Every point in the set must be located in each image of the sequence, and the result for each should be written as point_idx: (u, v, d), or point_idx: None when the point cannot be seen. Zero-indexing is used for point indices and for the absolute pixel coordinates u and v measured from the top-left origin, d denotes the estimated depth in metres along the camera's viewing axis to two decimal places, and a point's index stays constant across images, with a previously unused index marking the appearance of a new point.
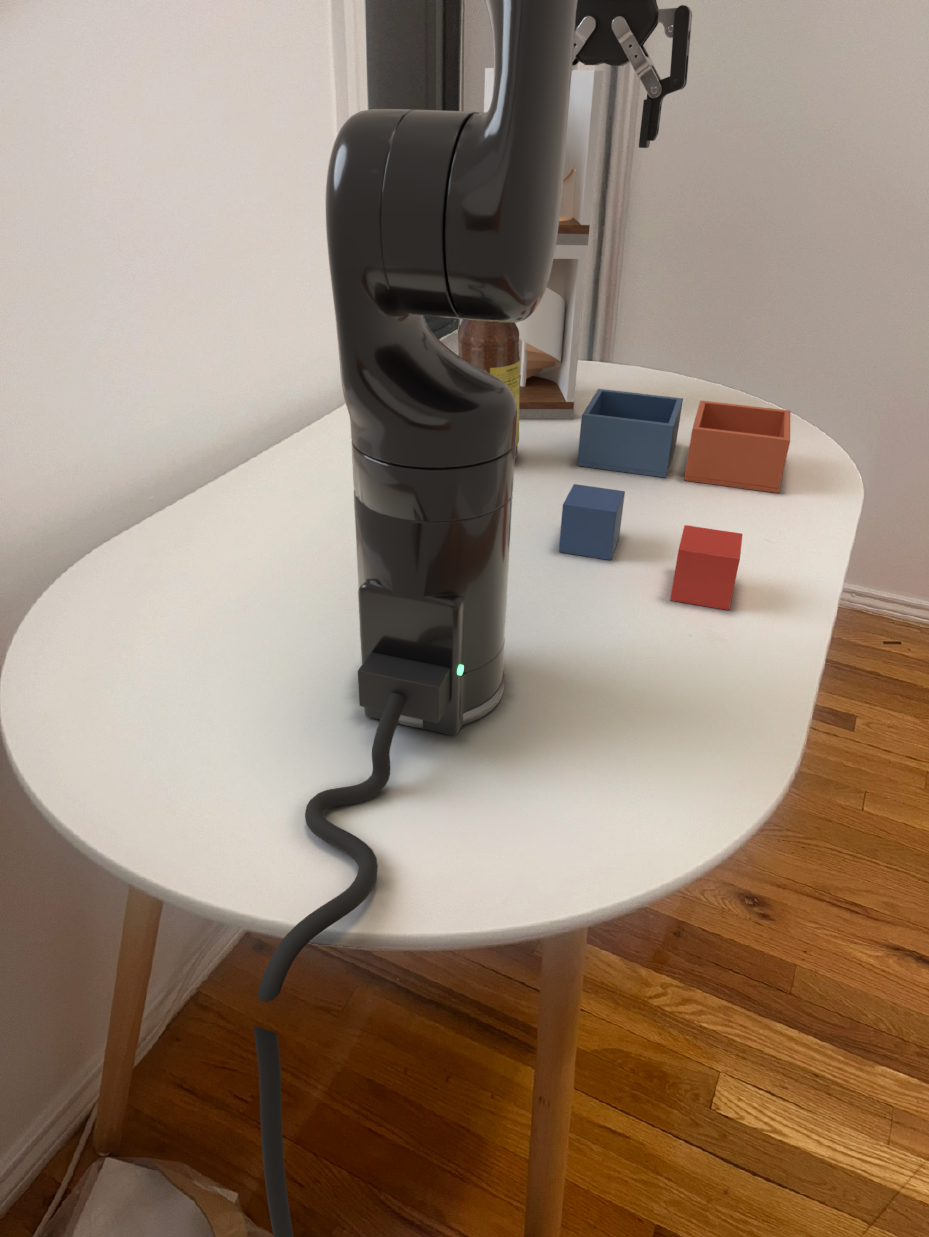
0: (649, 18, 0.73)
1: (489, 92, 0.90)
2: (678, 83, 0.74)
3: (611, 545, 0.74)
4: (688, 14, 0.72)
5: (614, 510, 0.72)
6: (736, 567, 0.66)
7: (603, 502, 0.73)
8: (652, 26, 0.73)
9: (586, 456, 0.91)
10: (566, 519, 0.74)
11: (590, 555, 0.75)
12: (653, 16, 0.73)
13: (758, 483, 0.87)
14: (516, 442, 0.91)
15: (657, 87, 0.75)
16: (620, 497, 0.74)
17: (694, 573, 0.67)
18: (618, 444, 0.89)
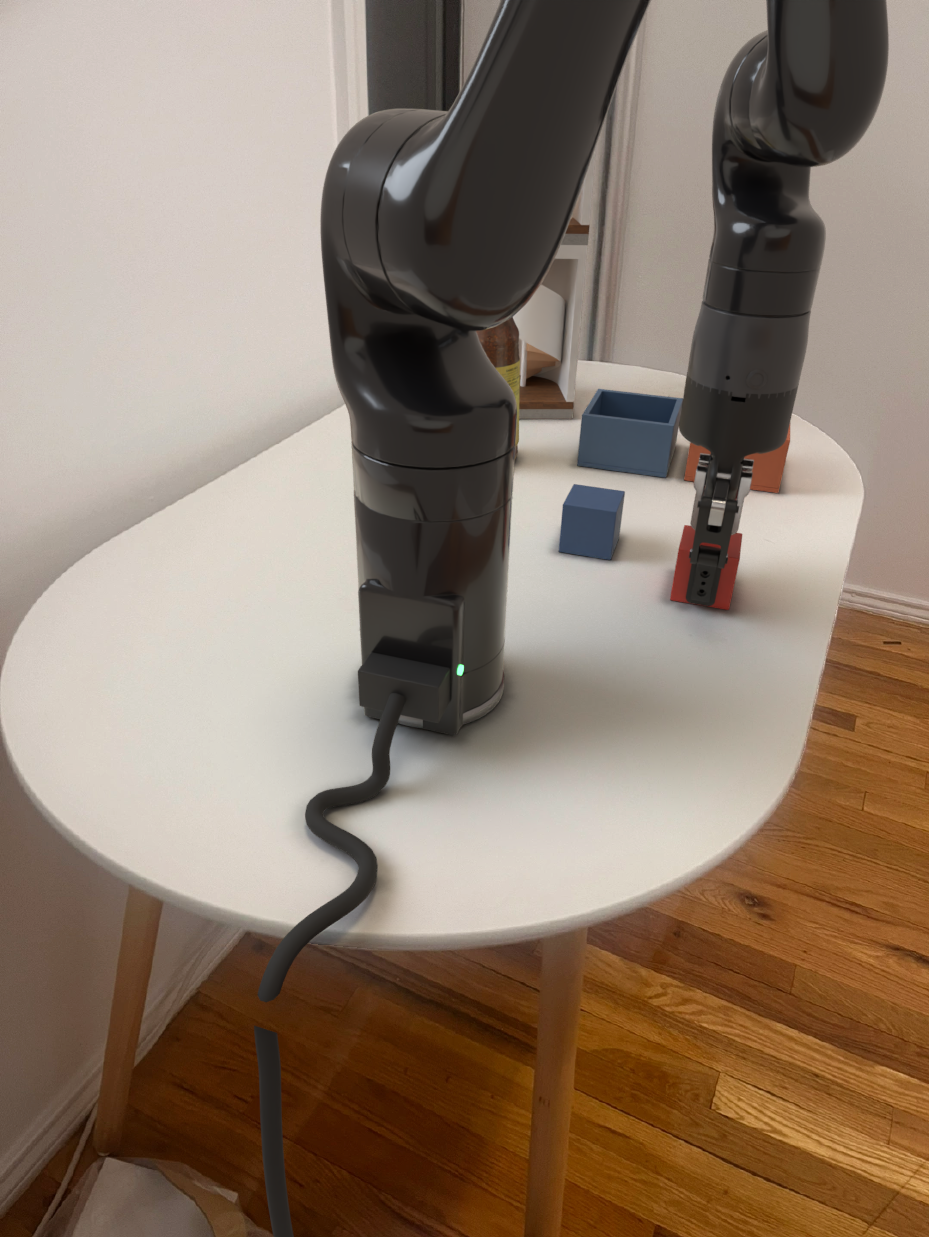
0: (706, 482, 0.62)
1: None
2: None
3: (611, 545, 0.74)
4: (698, 510, 0.60)
5: (614, 510, 0.72)
6: (736, 567, 0.66)
7: (603, 502, 0.73)
8: (709, 489, 0.62)
9: (586, 456, 0.91)
10: (566, 519, 0.74)
11: (590, 555, 0.75)
12: (707, 484, 0.62)
13: (758, 483, 0.87)
14: (516, 442, 0.91)
15: (692, 550, 0.65)
16: (620, 497, 0.74)
17: None
18: (618, 444, 0.89)
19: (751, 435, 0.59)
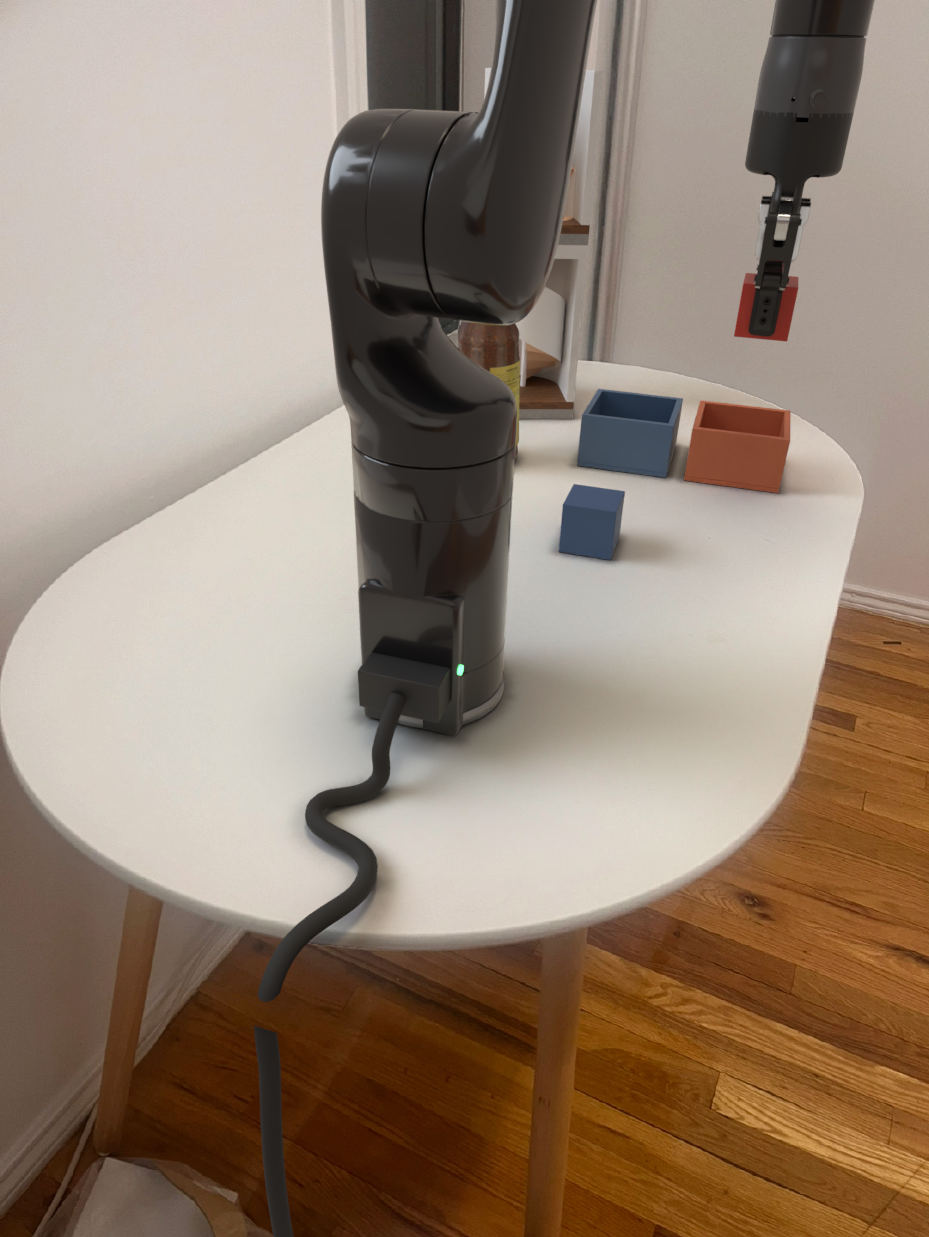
0: (771, 207, 0.70)
1: None
2: (754, 280, 0.72)
3: (611, 545, 0.74)
4: (766, 224, 0.68)
5: (614, 510, 0.72)
6: (795, 296, 0.74)
7: (603, 502, 0.73)
8: None
9: (586, 456, 0.91)
10: (566, 519, 0.74)
11: (590, 555, 0.75)
12: (772, 207, 0.70)
13: (758, 483, 0.87)
14: (516, 442, 0.91)
15: None
16: (620, 497, 0.74)
17: None
18: (618, 444, 0.89)
19: (812, 156, 0.68)
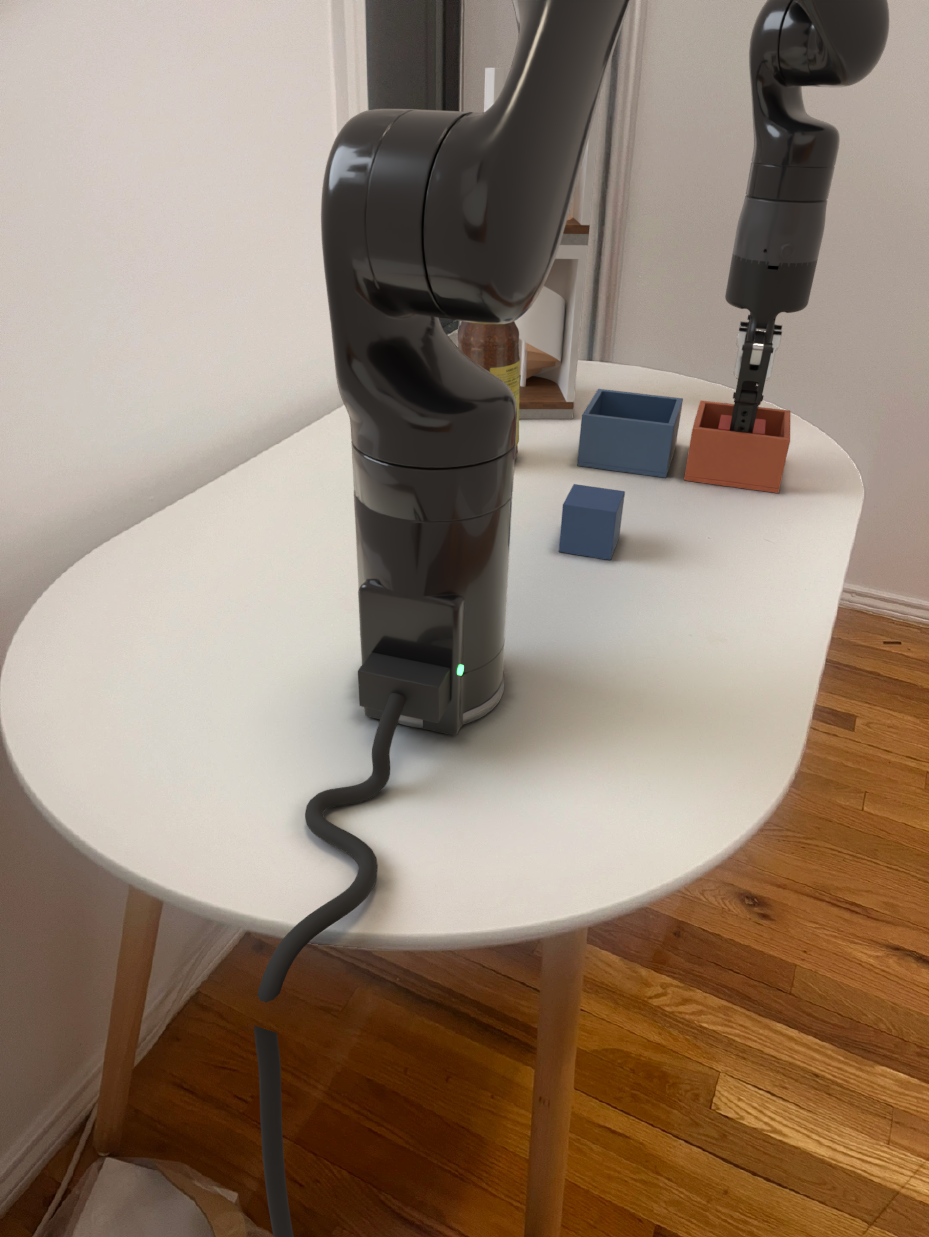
0: (747, 336, 0.82)
1: (489, 92, 0.90)
2: (733, 396, 0.83)
3: (611, 545, 0.74)
4: (743, 351, 0.79)
5: (614, 510, 0.72)
6: None
7: (603, 502, 0.73)
8: None
9: (586, 456, 0.91)
10: (566, 519, 0.74)
11: (590, 555, 0.75)
12: (748, 336, 0.81)
13: (758, 483, 0.87)
14: (516, 442, 0.91)
15: None
16: (620, 497, 0.74)
17: None
18: (618, 444, 0.89)
19: (782, 296, 0.79)
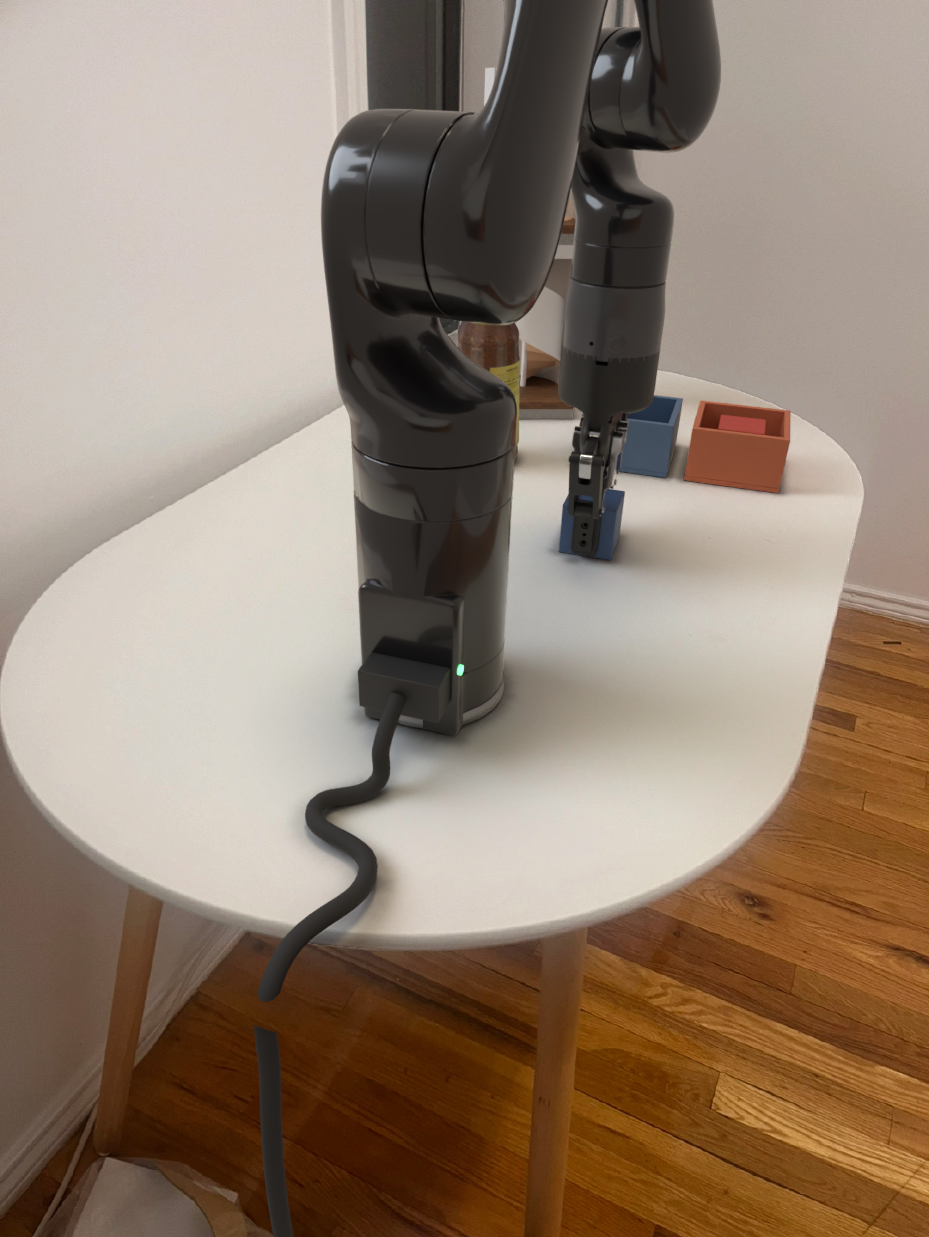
0: None
1: (489, 92, 0.90)
2: (567, 509, 0.70)
3: (611, 545, 0.74)
4: (569, 464, 0.66)
5: (614, 510, 0.72)
6: None
7: None
8: (582, 447, 0.68)
9: None
10: (566, 519, 0.74)
11: None
12: (580, 441, 0.68)
13: (758, 483, 0.87)
14: (516, 442, 0.91)
15: None
16: (620, 497, 0.74)
17: None
18: None
19: (615, 396, 0.66)
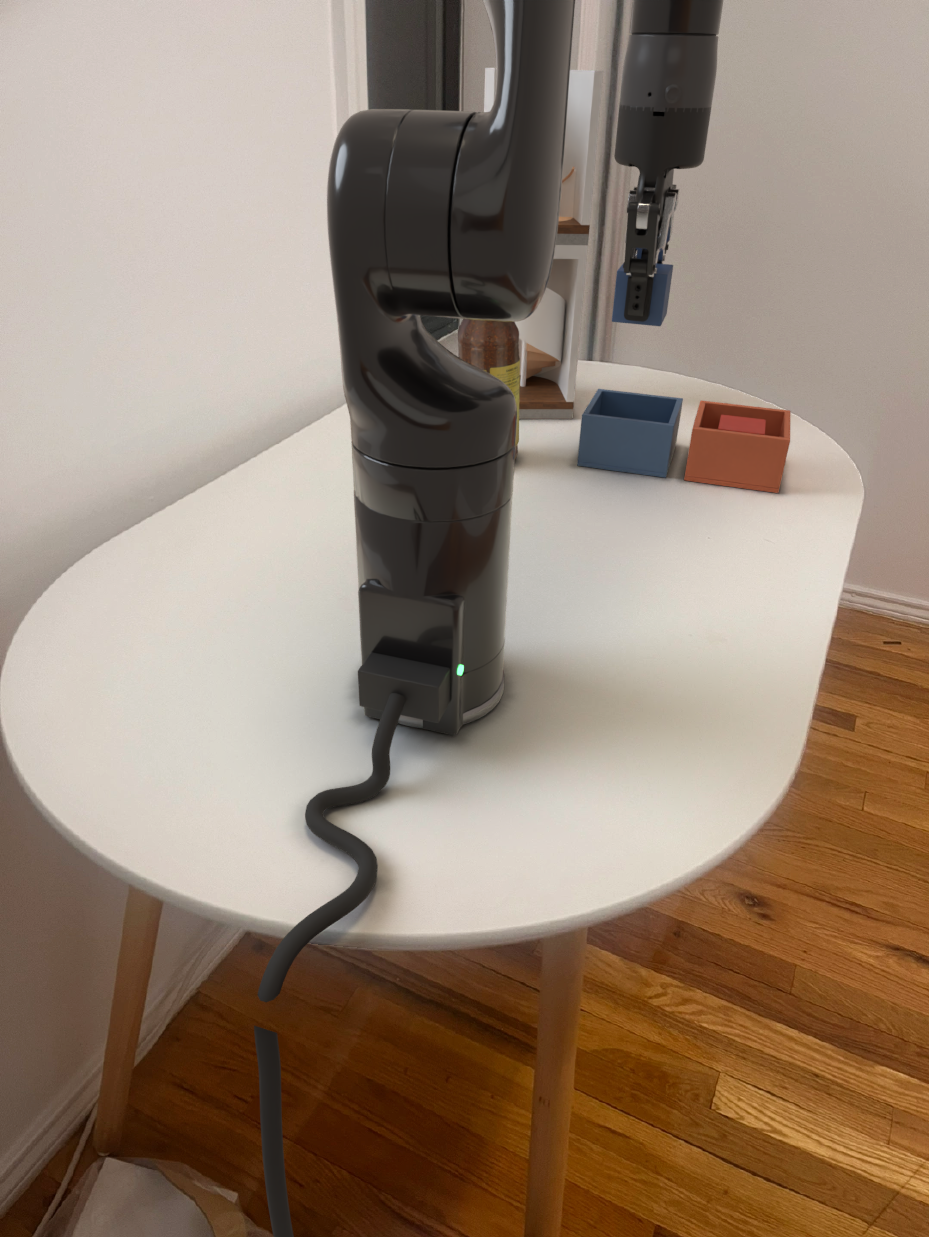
0: (636, 197, 0.74)
1: (489, 92, 0.90)
2: (623, 267, 0.76)
3: (661, 310, 0.79)
4: None
5: (665, 273, 0.78)
6: None
7: None
8: None
9: (586, 456, 0.91)
10: (620, 287, 0.79)
11: (641, 323, 0.80)
12: (636, 197, 0.74)
13: (758, 483, 0.87)
14: (516, 442, 0.91)
15: None
16: (669, 267, 0.80)
17: None
18: (618, 444, 0.89)
19: (671, 148, 0.71)
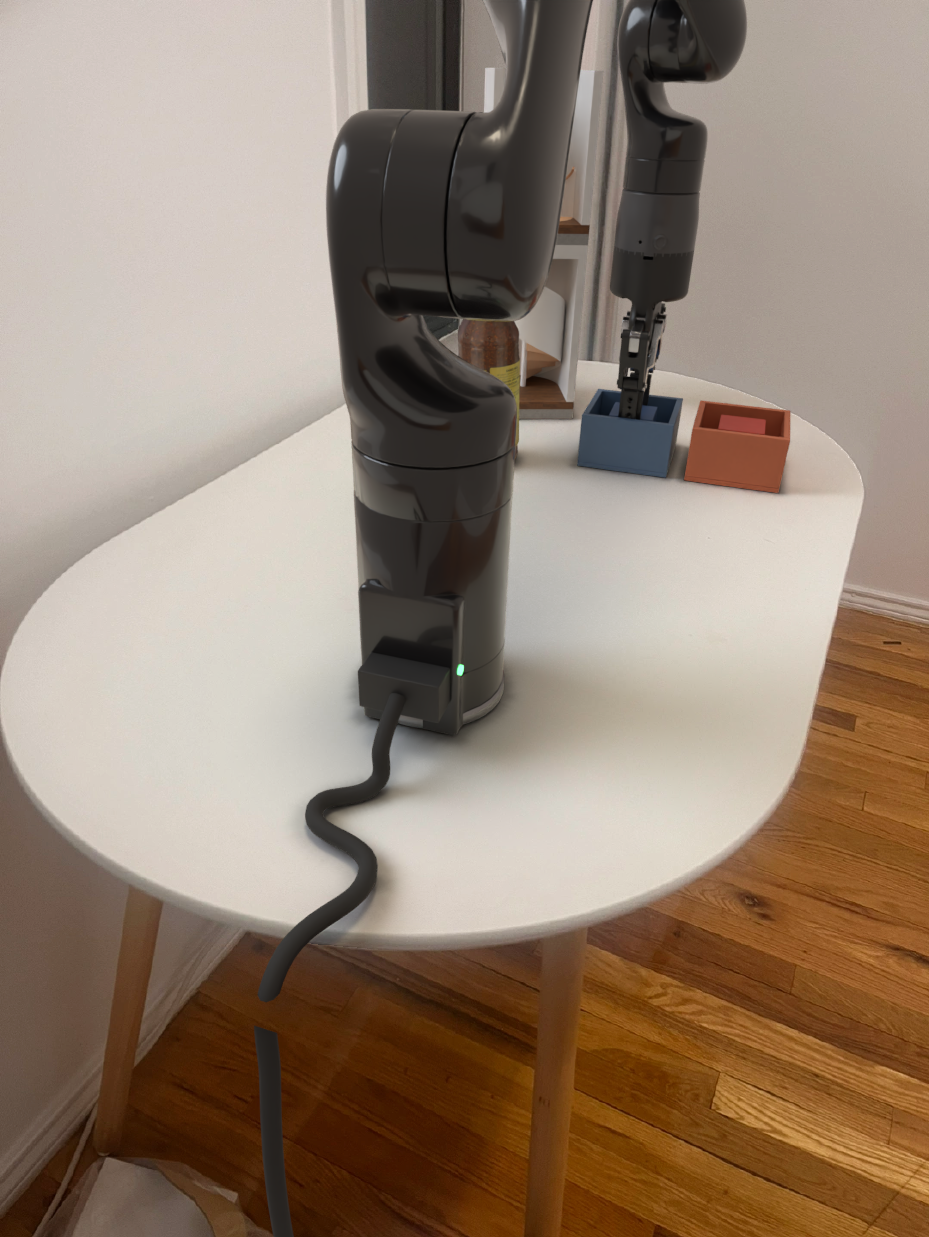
0: (628, 325, 0.84)
1: (489, 92, 0.90)
2: None
3: None
4: (621, 339, 0.82)
5: (650, 419, 0.90)
6: None
7: (641, 414, 0.91)
8: None
9: (586, 456, 0.91)
10: None
11: None
12: (629, 325, 0.84)
13: (758, 483, 0.87)
14: (516, 442, 0.91)
15: None
16: (654, 411, 0.92)
17: None
18: (618, 444, 0.89)
19: (659, 286, 0.82)
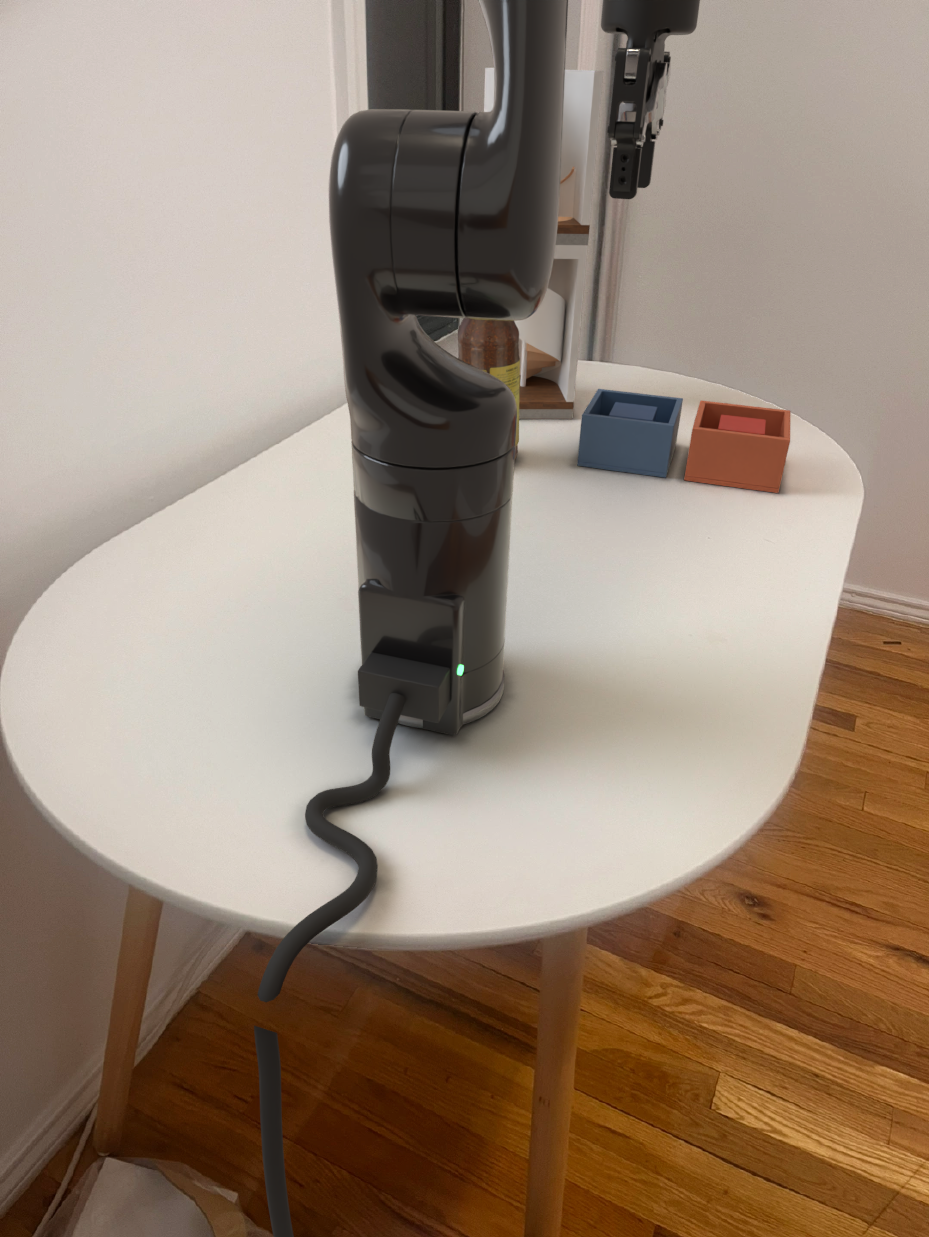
0: None
1: (489, 92, 0.90)
2: (607, 130, 0.69)
3: None
4: (616, 58, 0.66)
5: (650, 419, 0.90)
6: None
7: (641, 414, 0.91)
8: None
9: (586, 456, 0.91)
10: None
11: None
12: None
13: (758, 483, 0.87)
14: (516, 442, 0.91)
15: None
16: (654, 411, 0.92)
17: None
18: (618, 444, 0.89)
19: (661, 7, 0.66)
